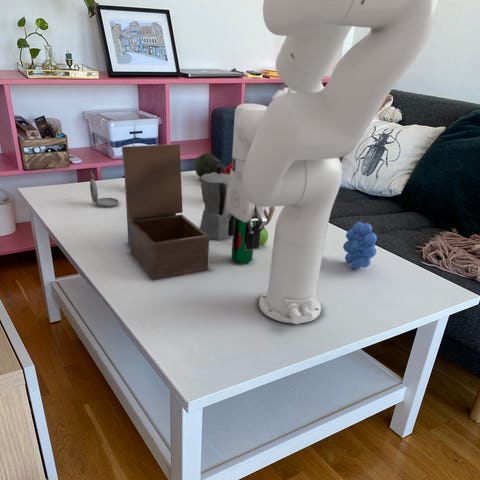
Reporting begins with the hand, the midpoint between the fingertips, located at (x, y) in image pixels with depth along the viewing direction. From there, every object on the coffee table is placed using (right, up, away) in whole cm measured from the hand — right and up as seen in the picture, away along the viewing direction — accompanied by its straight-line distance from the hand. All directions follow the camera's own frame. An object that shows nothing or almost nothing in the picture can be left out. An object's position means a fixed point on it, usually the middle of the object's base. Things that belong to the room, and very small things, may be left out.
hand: (243, 241), depth 115 cm
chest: (-17, -5, -1) cm, 18 cm away
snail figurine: (+4, 0, +11) cm, 12 cm away
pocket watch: (-41, +16, +30) cm, 53 cm away
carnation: (-5, +24, +48) cm, 54 cm away
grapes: (+28, -6, +4) cm, 29 cm away
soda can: (0, -4, +3) cm, 5 cm away
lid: (-20, +13, -4) cm, 24 cm away
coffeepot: (-7, +4, +15) cm, 17 cm away
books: (-23, 0, +7) cm, 24 cm away
